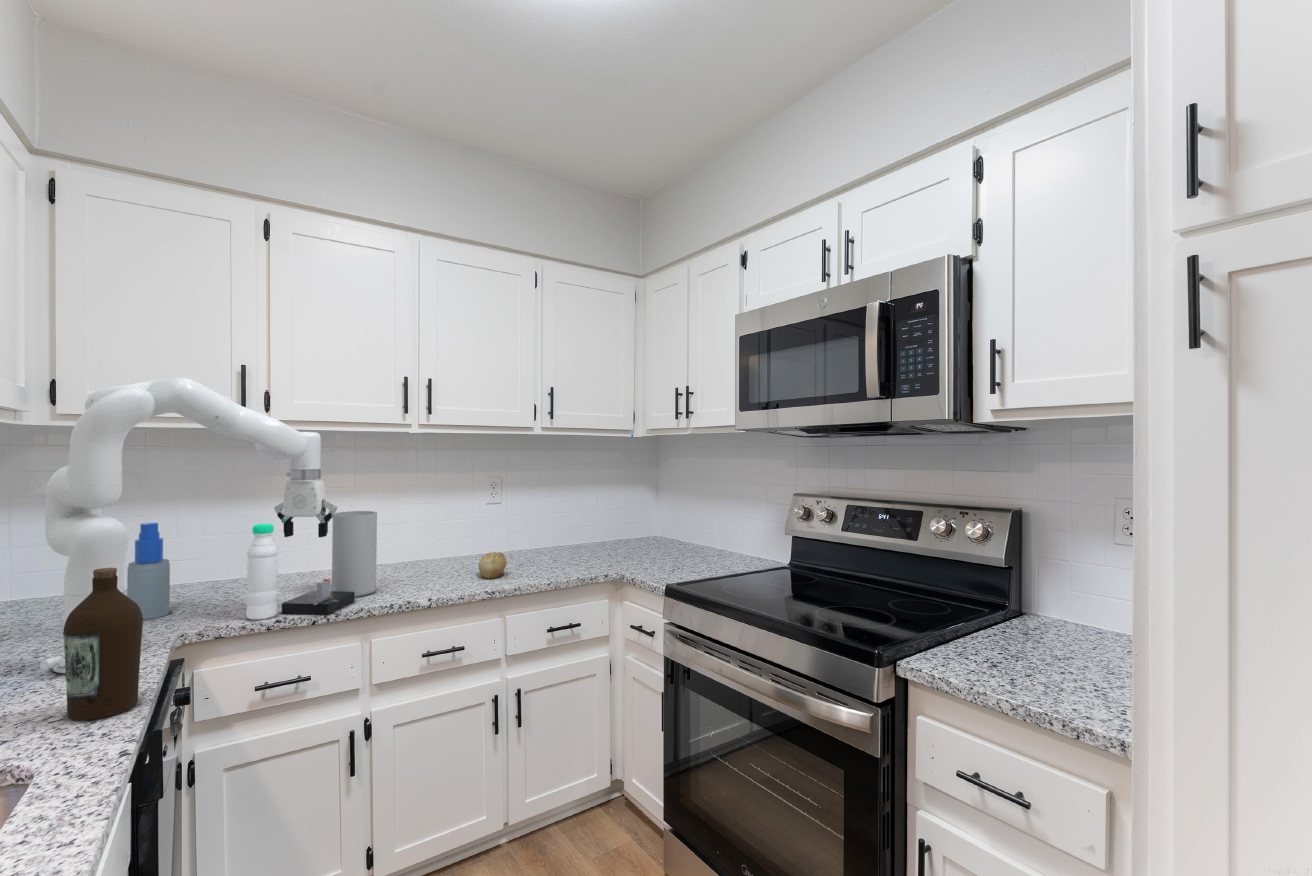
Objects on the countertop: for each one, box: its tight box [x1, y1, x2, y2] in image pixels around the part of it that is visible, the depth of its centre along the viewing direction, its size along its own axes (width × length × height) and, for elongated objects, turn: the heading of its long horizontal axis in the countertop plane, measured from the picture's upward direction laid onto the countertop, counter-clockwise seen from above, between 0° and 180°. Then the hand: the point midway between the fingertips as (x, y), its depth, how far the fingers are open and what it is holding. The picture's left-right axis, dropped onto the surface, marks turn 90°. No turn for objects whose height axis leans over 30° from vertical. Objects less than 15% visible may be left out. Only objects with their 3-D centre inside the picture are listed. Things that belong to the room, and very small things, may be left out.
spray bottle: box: [126, 522, 171, 621], centre depth 169 cm, size 9×9×25 cm
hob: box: [281, 590, 356, 616], centre depth 178 cm, size 15×14×3 cm
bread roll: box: [478, 551, 508, 580], centre depth 223 cm, size 10×15×8 cm, turn 10°
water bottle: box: [245, 523, 279, 621], centre depth 169 cm, size 7×7×25 cm
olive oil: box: [62, 568, 144, 722], centre depth 111 cm, size 11×11×25 cm
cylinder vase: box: [331, 510, 378, 598], centre depth 195 cm, size 12×12×25 cm
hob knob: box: [315, 578, 332, 603], centre depth 174 cm, size 4×2×6 cm, turn 177°
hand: (305, 536), depth 175 cm, fingers open, 9 cm apart
